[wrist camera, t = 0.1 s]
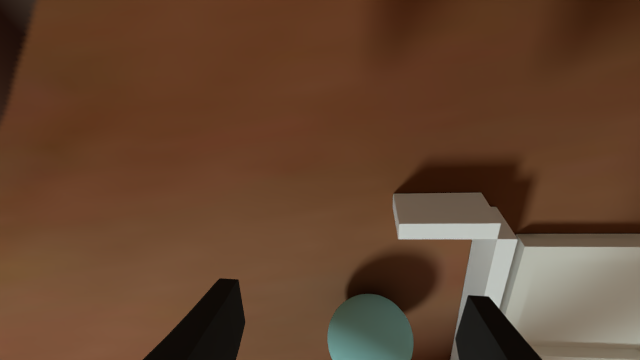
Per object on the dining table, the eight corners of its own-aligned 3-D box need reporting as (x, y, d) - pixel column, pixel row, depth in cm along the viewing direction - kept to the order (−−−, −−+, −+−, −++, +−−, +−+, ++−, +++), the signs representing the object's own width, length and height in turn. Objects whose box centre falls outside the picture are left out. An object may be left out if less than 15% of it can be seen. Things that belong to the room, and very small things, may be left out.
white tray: (643, 353, 25) (656, 369, 24) (486, 347, 26) (491, 362, 25) (718, 233, 19) (738, 247, 18) (516, 233, 21) (524, 246, 20)
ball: (405, 330, 26) (416, 409, 21) (332, 328, 26) (327, 404, 22) (409, 276, 23) (423, 352, 18) (328, 275, 24) (321, 348, 19)
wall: (462, 362, 27) (474, 402, 24) (386, 359, 28) (390, 397, 25) (499, 192, 19) (522, 223, 17) (393, 193, 20) (399, 223, 17)
